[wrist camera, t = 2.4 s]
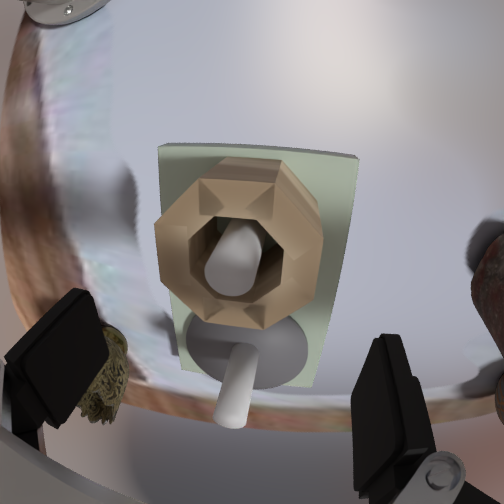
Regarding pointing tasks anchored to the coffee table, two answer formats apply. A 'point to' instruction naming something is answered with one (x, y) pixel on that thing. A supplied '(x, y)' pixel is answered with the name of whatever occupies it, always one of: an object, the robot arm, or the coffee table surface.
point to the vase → (500, 399)
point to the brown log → (491, 290)
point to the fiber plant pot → (107, 381)
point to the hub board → (332, 215)
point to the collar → (272, 261)
